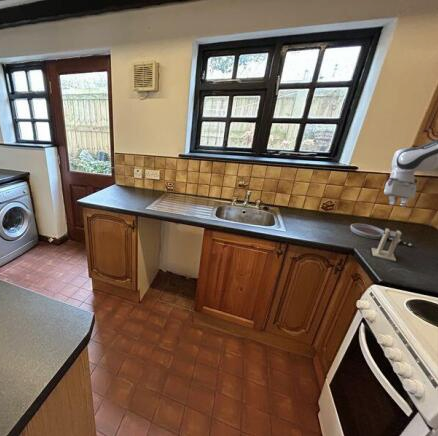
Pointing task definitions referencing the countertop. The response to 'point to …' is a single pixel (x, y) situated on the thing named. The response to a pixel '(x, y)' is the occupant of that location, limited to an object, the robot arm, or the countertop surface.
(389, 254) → the white stand
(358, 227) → the frying pan
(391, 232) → the stove lever
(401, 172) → the robot arm
